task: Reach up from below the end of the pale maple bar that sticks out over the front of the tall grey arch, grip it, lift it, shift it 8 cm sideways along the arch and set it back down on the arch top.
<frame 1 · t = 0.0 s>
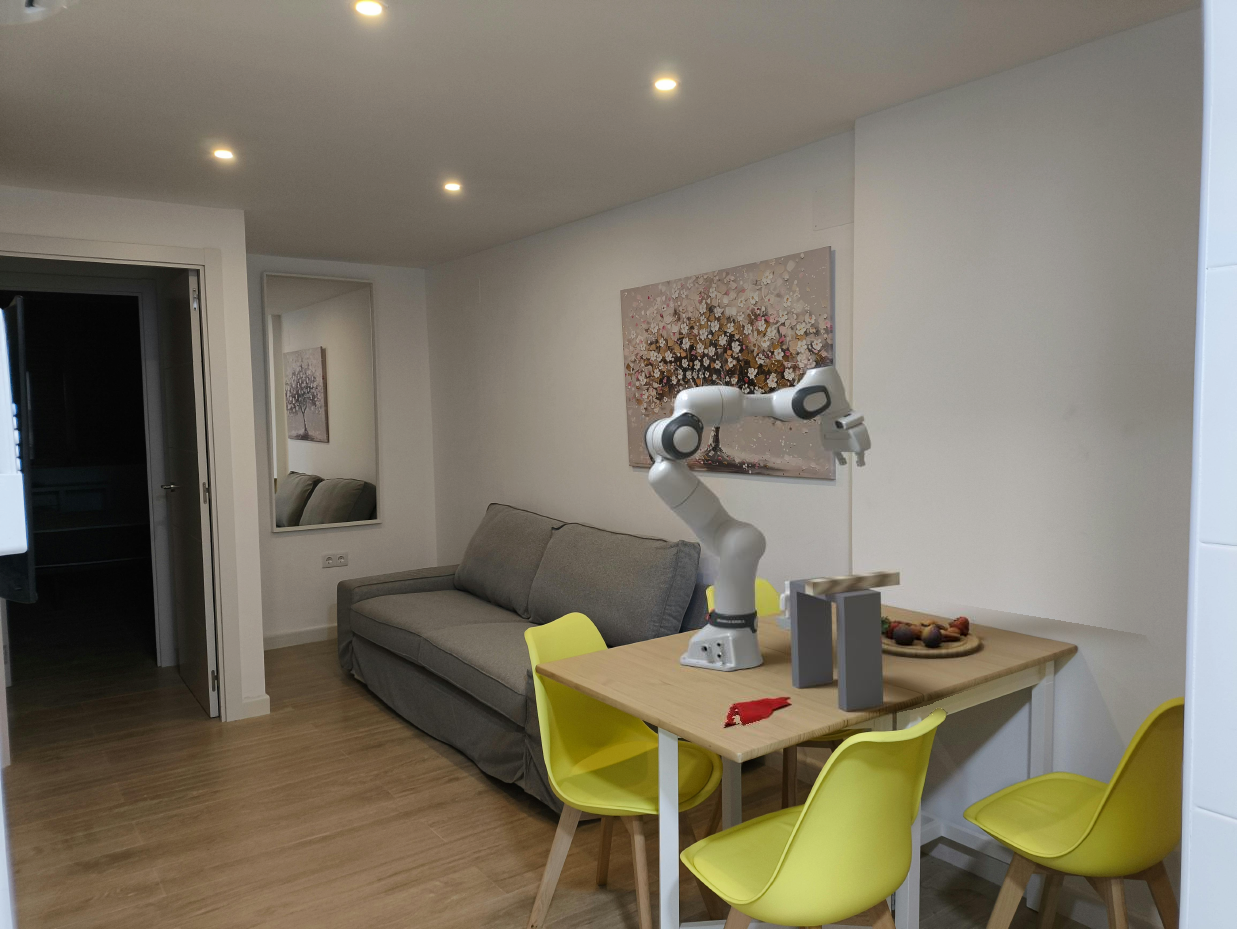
hand: (852, 465, 242), 52 cm above the table, tool tilted 20°, fingers open, 8 cm apart
wooden plate with food: (920, 645, 246), on the table
cloth: (755, 714, 194), on the table
grey arch: (835, 694, 204), on the table
figurine: (791, 629, 269), on the table
maple bar: (853, 588, 199), point 26 cm above the table, touching grey arch
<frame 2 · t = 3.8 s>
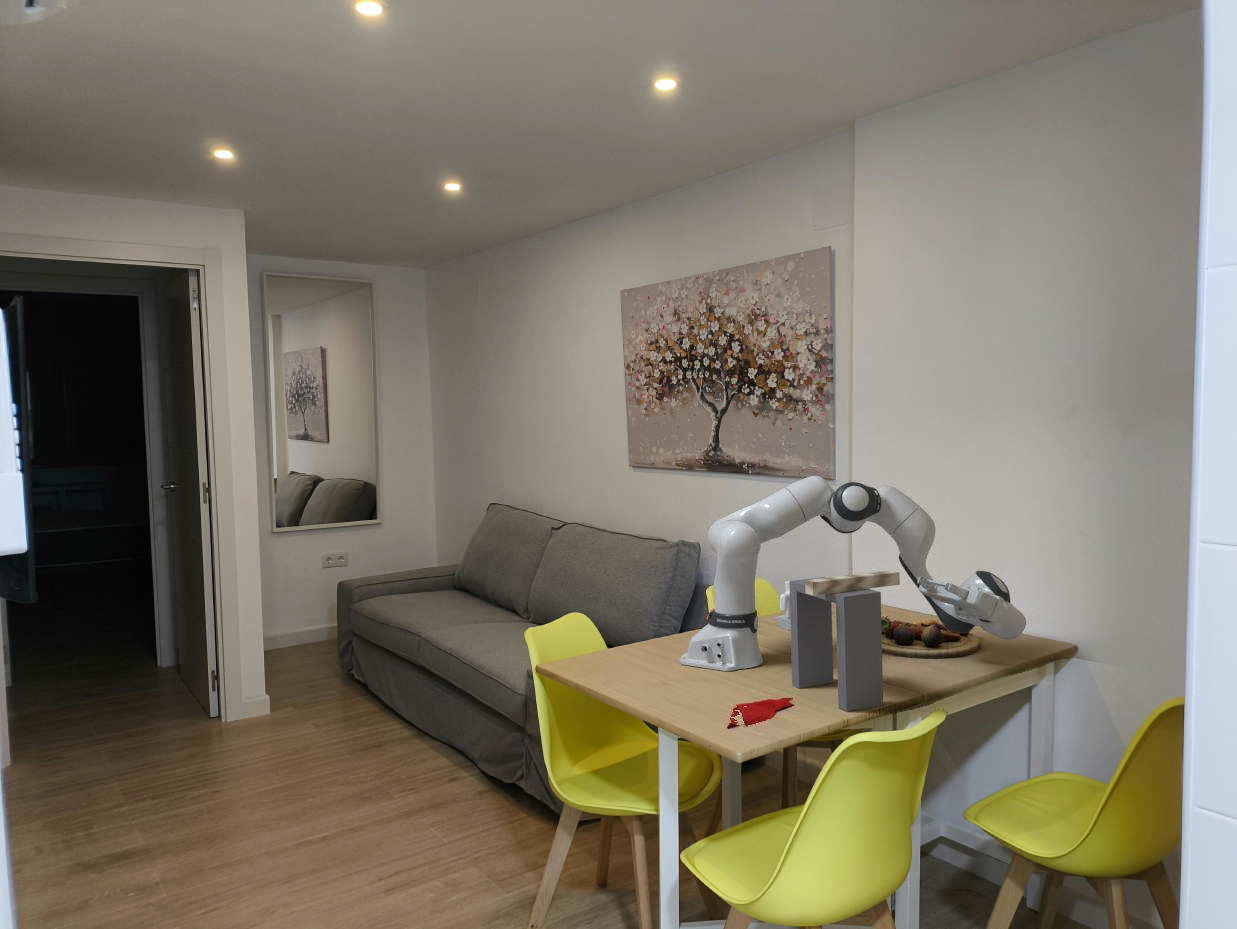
hand: (933, 583, 207), 25 cm above the table, tool pointing upward, fingers open, 8 cm apart
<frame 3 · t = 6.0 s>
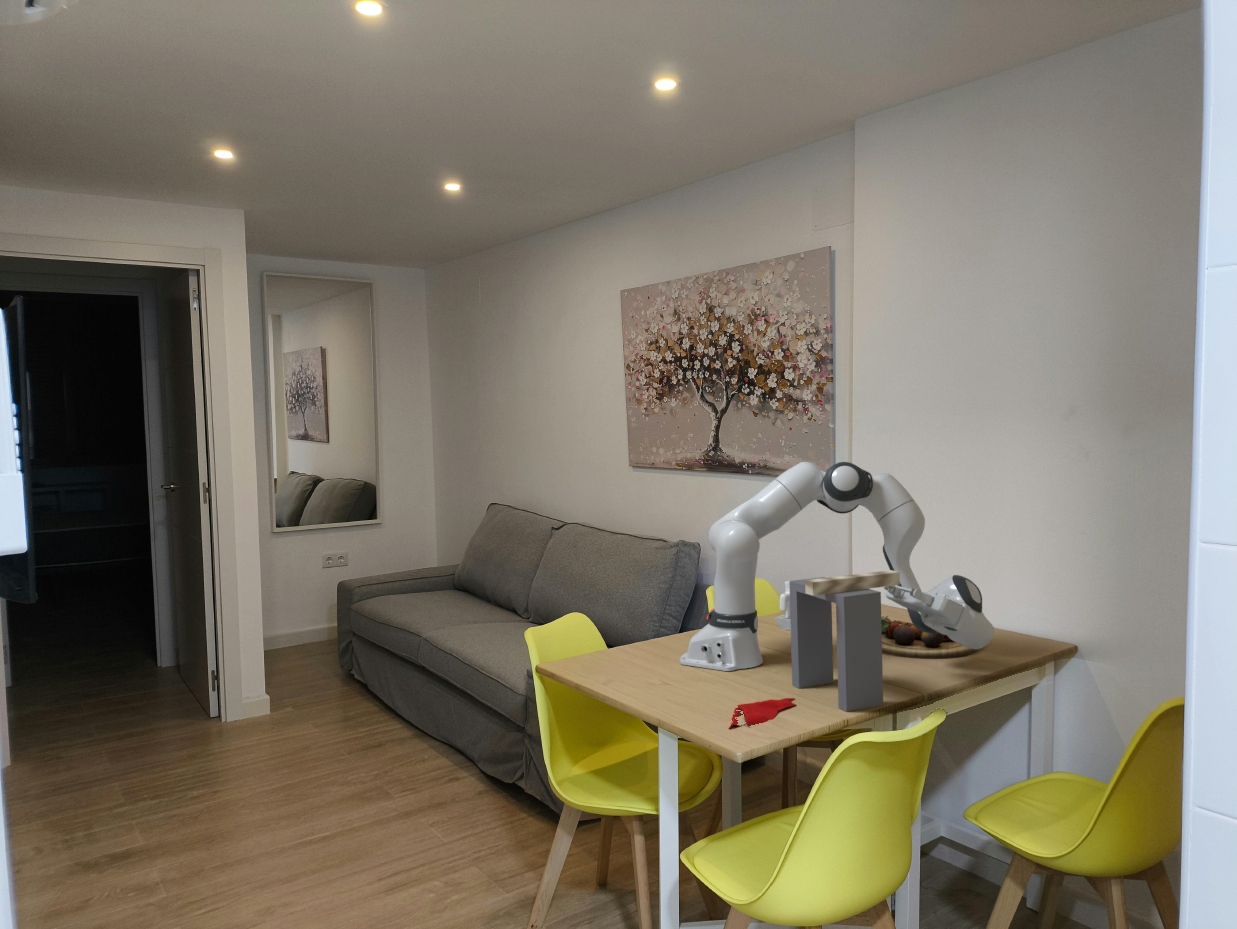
hand: (899, 588, 203), 25 cm above the table, tool pointing upward, fingers open, 8 cm apart
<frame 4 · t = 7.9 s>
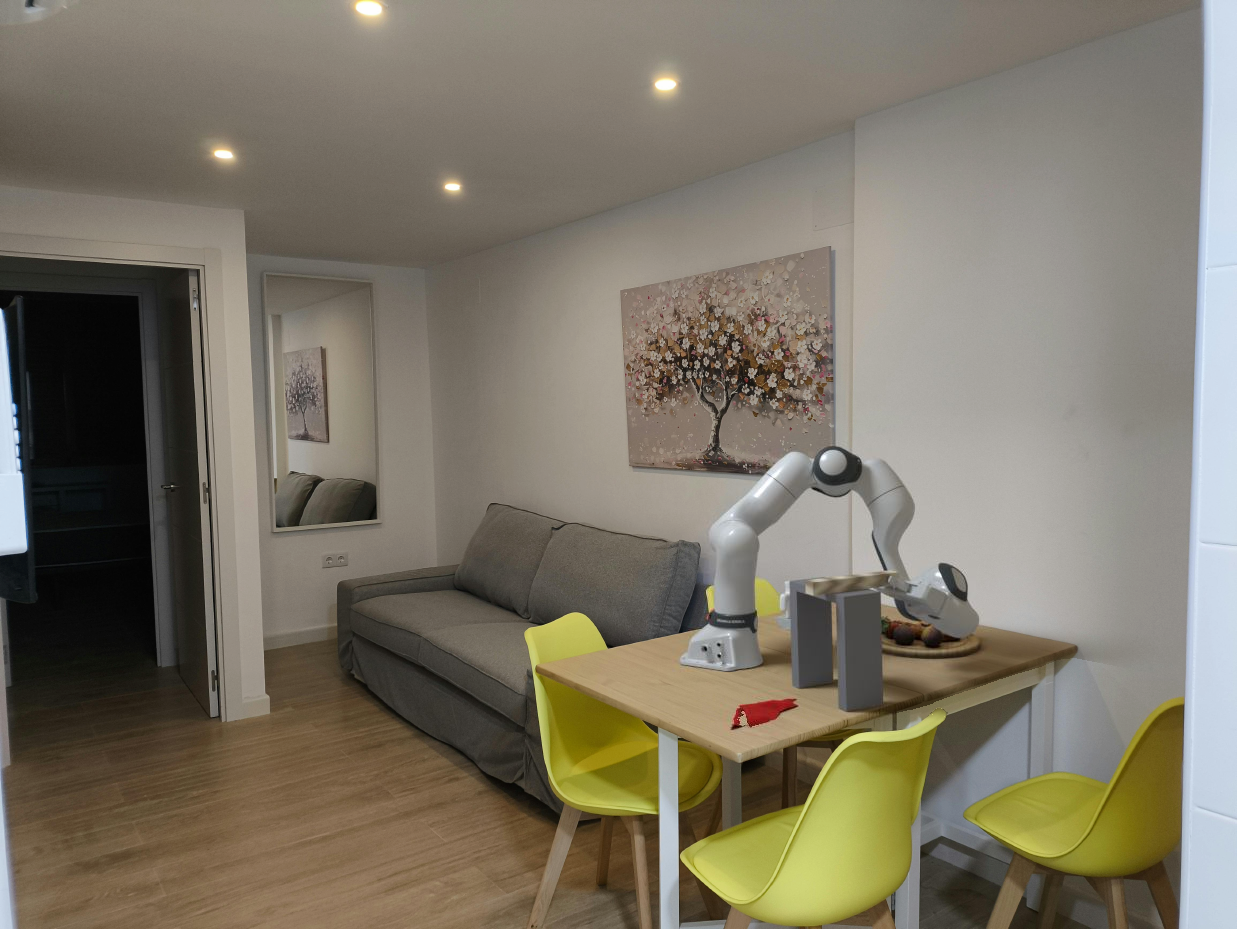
hand: (882, 577, 201), 28 cm above the table, tool pointing upward, fingers closed on maple bar, 3 cm apart
maple bar: (853, 588, 199), point 26 cm above the table, touching grey arch, gripper
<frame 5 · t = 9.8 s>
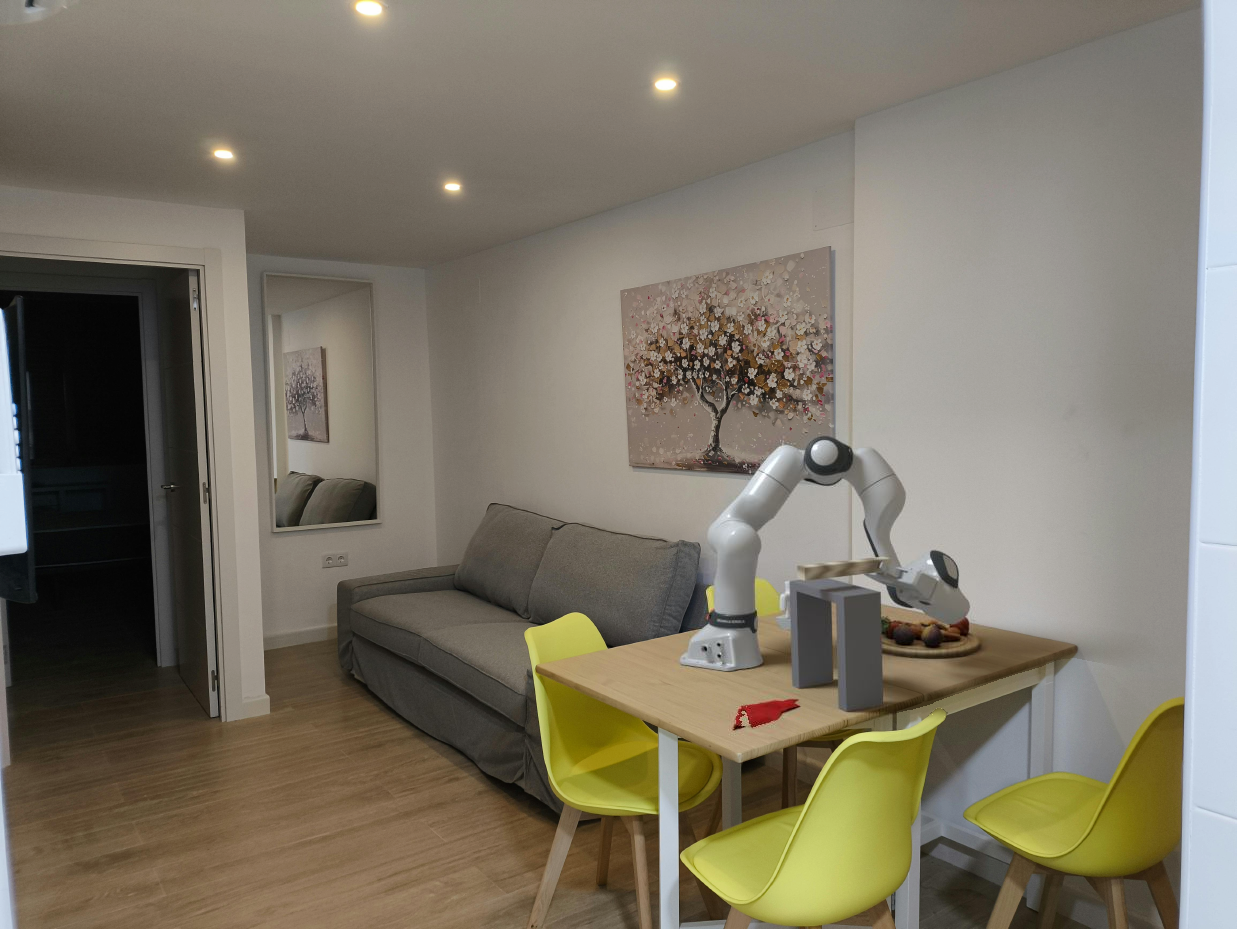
hand: (873, 563, 204), 31 cm above the table, tool pointing upward, fingers closed on maple bar, 3 cm apart
maple bar: (844, 574, 201), point 29 cm above the table, touching gripper
when the fingers open (29 cm above the table, at t = 11.7 s): maple bar drops 1 cm, resting on grey arch.
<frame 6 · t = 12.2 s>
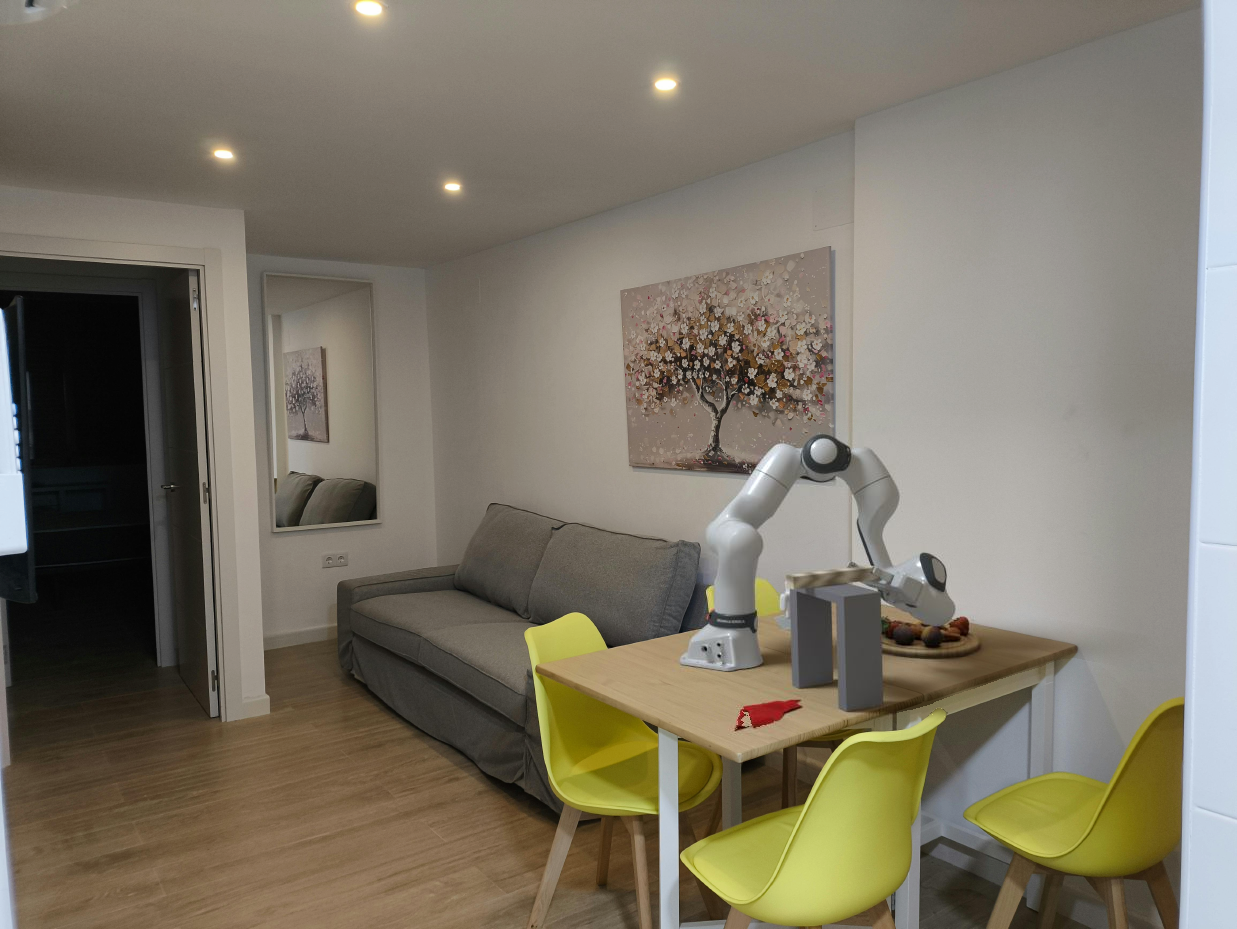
hand: (860, 567, 209), 29 cm above the table, tool pointing upward, fingers open, 8 cm apart
maple bar: (832, 583, 206), point 26 cm above the table, touching grey arch
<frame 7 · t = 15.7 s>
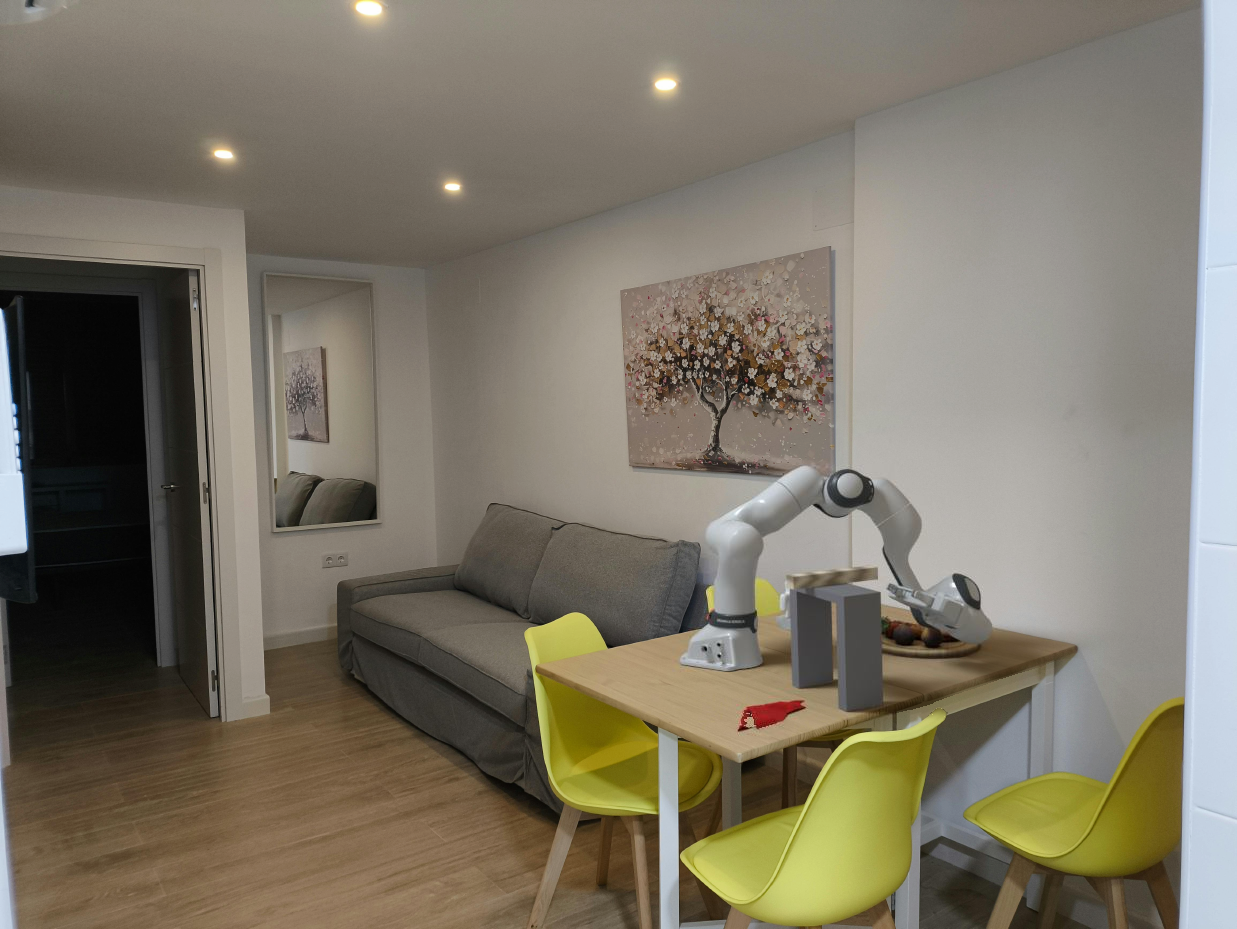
hand: (901, 589, 213), 22 cm above the table, tool pointing upward, fingers open, 8 cm apart
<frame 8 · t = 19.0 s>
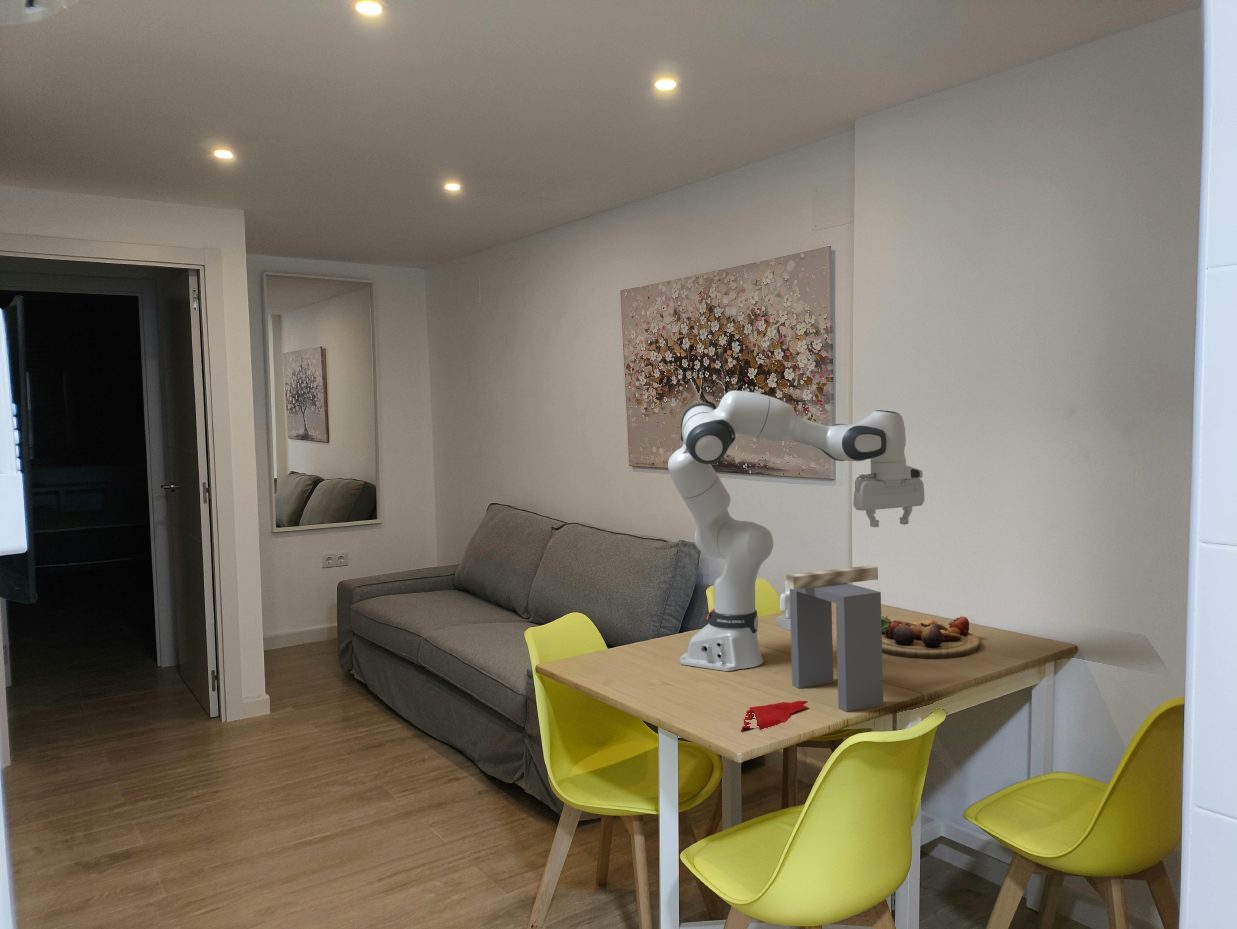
hand: (889, 525, 223), 37 cm above the table, tool pointing down, fingers open, 8 cm apart
at the end: maple bar 0.2 cm from the target spot, point 26.0 cm above the table; maple bar tilted 0°; the gripper is holding nothing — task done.
